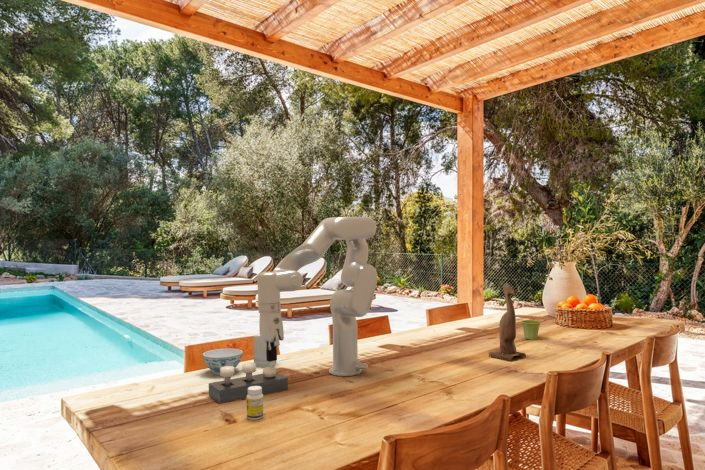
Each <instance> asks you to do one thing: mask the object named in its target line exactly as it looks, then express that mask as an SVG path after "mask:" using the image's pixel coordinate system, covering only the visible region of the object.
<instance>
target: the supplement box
mask: <svg viewBox="0 0 705 470" xmlns="http://www.w3.org/2000/svg"><path fill="white" fill-rule="evenodd" d="M266 350H267V349H266V347H265V342H264V341H263V339H262V338H261V337H260V333H258V334H256V335H253V363H255V364H256V368H265V367H274V365H276V364H277V360H276V361H271V362H269V361H267V357H266Z"/></svg>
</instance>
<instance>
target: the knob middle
mask: <svg viewBox="0 0 705 470" xmlns="http://www.w3.org/2000/svg"><path fill="white" fill-rule="evenodd" d="M241 367H242V368H241V370H242V371H241V373H243V374H245V377H246V382H251V381H252V375H253V373H255V372H257V369H256V368H257V367H256V364H255V363H254V362H245V363H242V364H241Z"/></svg>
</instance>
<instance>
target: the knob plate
mask: <svg viewBox="0 0 705 470" xmlns="http://www.w3.org/2000/svg"><path fill="white" fill-rule="evenodd" d="M251 386H260V387H262V394H263V395H268V394H272V393H277V392H282V391H287V390H289V377H287V376H286V375H283V374H281V373H279V372H277V371H276V376H274V377H272V378H267V377H264V376H263V373H258V374H254V375H253V374H252V381H251V382H246V376H243V377H237V378H231V385H229V386H224V380H219V381H215V382H214V381H213V382H210V383H208V396H209V397H210V398H211V399H213V400H214V401H215V402H217V403H218V404H224V403H228V402H232V401H239V400H243V399H247V395H248V388H249V387H251Z"/></svg>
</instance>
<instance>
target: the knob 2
mask: <svg viewBox="0 0 705 470" xmlns="http://www.w3.org/2000/svg"><path fill="white" fill-rule="evenodd" d="M276 372H277V368H276V367H275V366H271V367H262V374H263V376H264V377H267V378H272V377H274V376H276Z"/></svg>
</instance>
